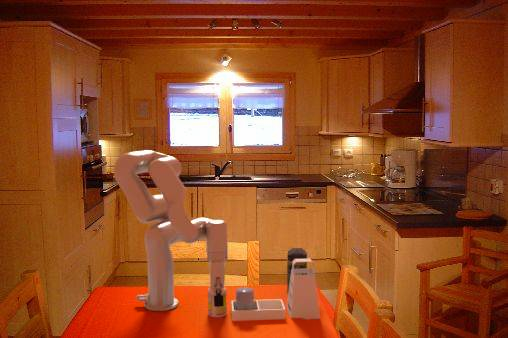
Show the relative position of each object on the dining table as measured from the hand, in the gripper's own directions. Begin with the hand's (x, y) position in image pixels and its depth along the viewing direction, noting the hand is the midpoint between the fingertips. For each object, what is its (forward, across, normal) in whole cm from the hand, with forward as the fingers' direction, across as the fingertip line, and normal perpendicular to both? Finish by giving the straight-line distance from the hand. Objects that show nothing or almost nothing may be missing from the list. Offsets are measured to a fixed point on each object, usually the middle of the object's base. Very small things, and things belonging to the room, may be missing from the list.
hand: (218, 301), depth 188 cm
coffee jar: (+6, -18, +31) cm, 37 cm away
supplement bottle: (+6, 0, -1) cm, 6 cm away
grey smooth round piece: (+5, +2, +9) cm, 11 cm away
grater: (+6, +1, +30) cm, 31 cm away
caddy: (+6, +2, +14) cm, 15 cm away
